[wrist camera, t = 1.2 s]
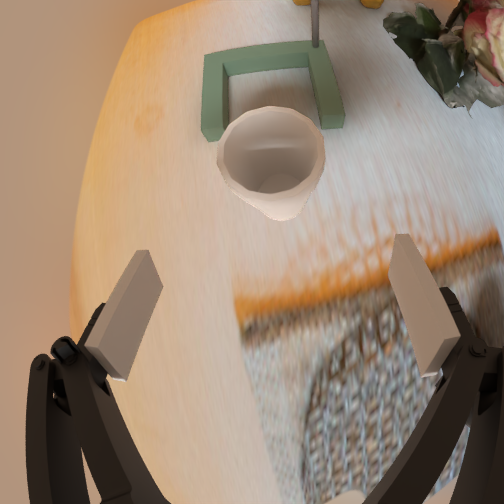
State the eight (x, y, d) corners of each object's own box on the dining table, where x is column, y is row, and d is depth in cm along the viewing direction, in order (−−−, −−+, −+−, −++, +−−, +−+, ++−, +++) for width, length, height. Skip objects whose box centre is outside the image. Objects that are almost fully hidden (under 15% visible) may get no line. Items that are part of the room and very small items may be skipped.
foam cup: (275, 248, 36) (260, 224, 23) (230, 194, 38) (196, 149, 25) (333, 200, 35) (347, 154, 22) (286, 150, 37) (277, 90, 24)
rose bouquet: (460, 134, 33) (555, 4, 4) (369, 18, 38) (379, -104, 9) (532, 116, 30) (604, 38, 1) (453, 17, 36) (482, -71, 6)
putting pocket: (366, 127, 36) (393, 38, 19) (208, 142, 39) (156, 63, 22) (343, 54, 38) (349, -29, 21) (210, 68, 42) (174, -8, 24)
